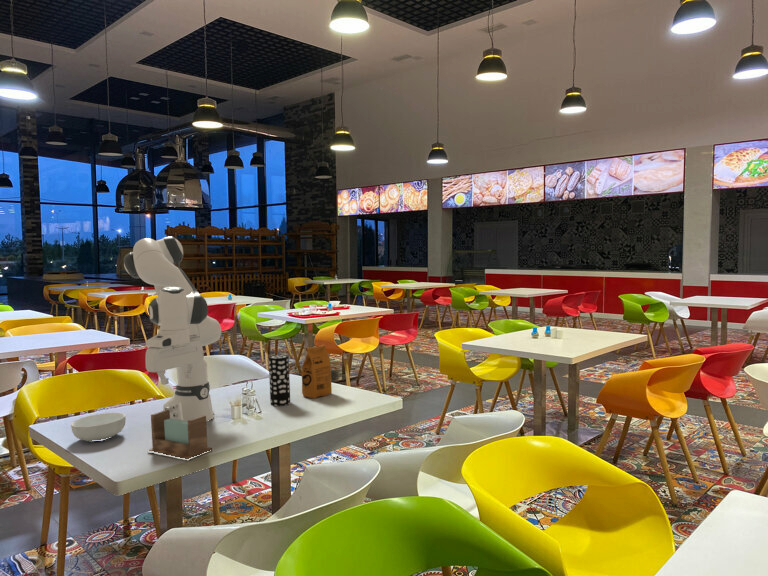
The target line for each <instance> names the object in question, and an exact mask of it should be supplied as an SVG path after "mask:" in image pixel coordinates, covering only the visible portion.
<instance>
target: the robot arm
mask: <svg viewBox="0 0 768 576" xmlns="http://www.w3.org/2000/svg"><path fill="white" fill-rule="evenodd" d="M183 258H184V248H183V245H182V243H181V242H180V241H179V240H178V239H177V238H176V237H174V236H173V235H172V236H166V237H163V238H161V239H158V240H155V239H153V238H149V237H148V238H147V237H145V238H141V239H139V240H138V241H136V242H135V244H134V245H133V249H132V251H130V252H128V253H127V254H125V256H124V257H123V261H122V262H123V266H124V267H123V268H124V269H125V271H126V272H127V273H128V274H129V275H130V277H131V278H134V279H141V280H142V282H144V283H146V284H149V285H151V286H154V289H155V293H156V295H157V297H154V298H153V300H151V301H150V302H149V303H148V312H149V313H148V318H149V321H150V322H151V323H153V324H154V325H156V326H159V329H158V331H157V334H155V335H154V336H152V337H150V338H149V339H147V340H146V341H145V346H146V347H147V349H146V350H145V351H146V352H145V369H146V370H147V372H149V373H156V374H157V376H158V377H159V379H160V384H161V385H167V384H170V383H169V382H170V381H169V378H168V377H166V375H165V374H166V371H167V370H173V369H175V370H176V378H177V384H176V385H173V386H172V390H175V391H174V394H173V396H171V397H170V398H169V399H168V400H167V401H166V402H165V403H164V404H163V407H162V408H163V409H162V411H165V410H170V418H171V419H177V420H183V421H188V420H191V419H194V418H197V417H200V416H203V415H205V416H206V421H207V422H209V421H208V420H210V421H212V420H213V419H214V418H215V411H214V410H213V404H212V397H211V395H210V390H211V389H210V387H211V386H210V385H211V384H210V382H209V375H208V364H207V362H206V360H205V358H204V349H203V347H205V346H206V347H207V346H209V345H211V344H213V343H215V342H218V341H219V340H220V338H221V336H222V327H221V324H220V323H219V321H218V320H217V319H215V318H213V317H211V316H209V315H208V314H209V306H208V301H206V299H205V298H204V297H203V295H202V294H201V293H199V291H198V290H197V288H196V287H195V286H194V284H193V283H192V281H191V280H190V278H189V277H188V276H187V274H186V272H185V271H184V270H183V269H182V268H180V267H181V263H182V261H183ZM176 265H177V266H176ZM213 414H214V415H213ZM211 419H212V420H211Z"/></svg>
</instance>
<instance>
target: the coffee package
mask: <svg viewBox="0 0 768 576" xmlns="http://www.w3.org/2000/svg"><path fill="white" fill-rule="evenodd" d="M305 351H306V356H305V360H304V361H303V364H302V367H301V394H302V396H303V397H306V398H309V399H317V398H319V397H325V396H328V395H330V394H332V391H333V390H332V367H331V360H330V359H331V358H330V356H329V353H328V350H327V348H326V345H325V344H321V345H320V346H318V347H306V348H305Z"/></svg>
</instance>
